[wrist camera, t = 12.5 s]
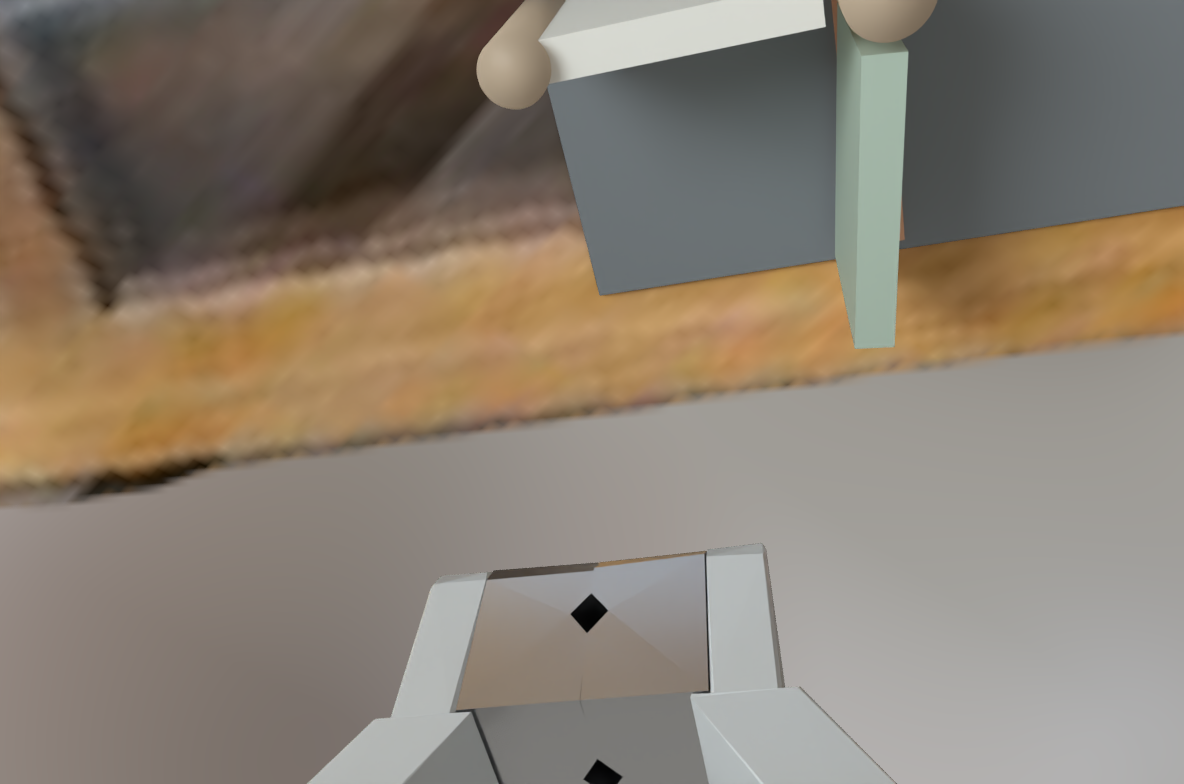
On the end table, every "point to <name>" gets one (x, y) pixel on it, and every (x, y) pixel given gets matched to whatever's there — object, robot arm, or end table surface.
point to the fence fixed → (656, 35)
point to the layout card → (931, 141)
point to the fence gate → (869, 180)
